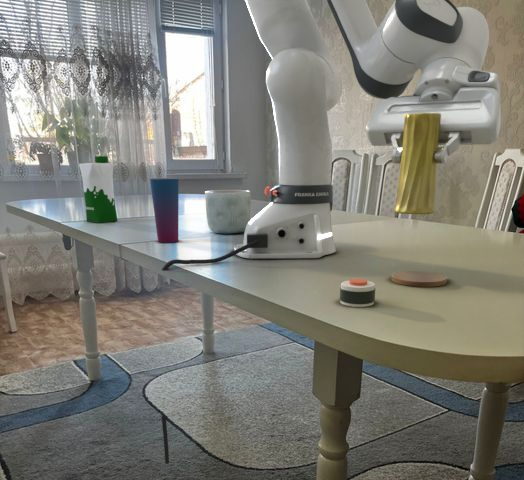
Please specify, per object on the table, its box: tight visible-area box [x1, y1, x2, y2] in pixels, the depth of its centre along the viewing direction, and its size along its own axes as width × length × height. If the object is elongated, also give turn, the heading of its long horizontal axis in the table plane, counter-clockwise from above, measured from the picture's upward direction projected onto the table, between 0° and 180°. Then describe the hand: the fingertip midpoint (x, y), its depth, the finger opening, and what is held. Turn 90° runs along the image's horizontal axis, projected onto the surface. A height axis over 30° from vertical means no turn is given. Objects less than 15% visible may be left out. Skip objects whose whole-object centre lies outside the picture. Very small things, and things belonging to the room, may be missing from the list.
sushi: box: [339, 278, 376, 308], centre depth 78 cm, size 5×5×3 cm
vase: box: [394, 113, 441, 215], centre depth 83 cm, size 6×6×14 cm
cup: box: [149, 177, 179, 244], centre depth 133 cm, size 7×7×15 cm
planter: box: [204, 189, 252, 235], centre depth 148 cm, size 12×12×11 cm
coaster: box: [391, 270, 448, 288], centre depth 92 cm, size 9×9×1 cm
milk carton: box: [78, 155, 118, 224], centre depth 174 cm, size 9×9×20 cm
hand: (417, 160), depth 82 cm, fingers closed on vase, 5 cm apart
